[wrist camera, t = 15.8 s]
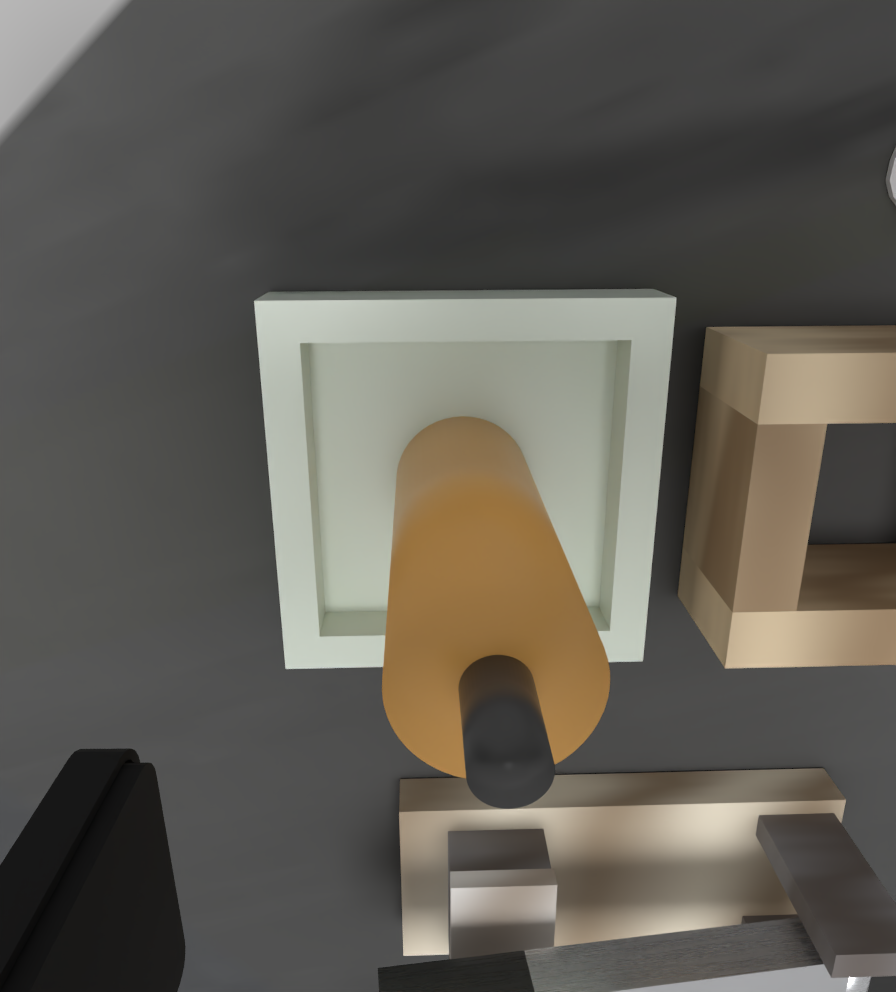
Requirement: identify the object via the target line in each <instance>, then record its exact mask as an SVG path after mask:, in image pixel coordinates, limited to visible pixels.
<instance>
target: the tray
mask: <svg viewBox="0 0 896 992" xmlns="http://www.w3.org/2000/svg"><path fill="white" fill-rule="evenodd" d="M676 299H677V298H676V297H674V296H671V295H669V294H666V293H663V292H661V291H658V290H655V289H565V290H430V291H294V292H268V293H266V294H264V295H263V296H261V297H260V298H258V299H256V300H255V301H254V305H255V317H256V329H257V341H258V352H259V364H260V376H261V387H262V399H263V411H264V422H265V434H266V446H267V457H268V469H269V481H270V492H271V504H272V516H273V528H274V539H275V551H276V563H277V574H278V586H279V598H280V609H281V621H282V633H283V644H284V656H285V668H286V669H309V668H355V667H383V663H384V649H385V634H386V620H387V606H388V592H389V577H390V563H391V549H392V535H393V520H394V506H395V492H396V477H397V469H398V464H399V461H400V458H401V456H402V454H403V452H404V450H405V448H406V447H407V445H408V444H409V442H410V441H411V440H412V439H413V438H414V436H416V435H417V434H418V433H419V432H420V431H421V430H423V429H424V428H426V427H427V426H429V425H431V424H433V423H435V422H437V421H440V420H443V419H446V418H451V417H460V416H466V417H475V418H480V419H484V420H487V421H489V422H491V423H494V424H496V425H497V426H499V427H500V428H502V429H503V430H505V431H506V432H507V433H508V434H509V435H510V436H511V437H512V438H513V439H514V440H515V442H516V443H517V445H518V446H519V448H520V449H521V452H522V454H523V456H524V458H525V460H526V463H527V465H528V468H529V470H530V472H531V475H532V477H533V479H534V482H535V484H536V487H537V489H538V491H539V494H540V496H541V498H542V501H543V503H544V506H545V508H546V510H547V513H548V515H549V517H550V520H551V522H552V525H553V527H554V529H555V532H556V534H557V536H558V539H559V541H560V544H561V546H562V548H563V551H564V553H565V555H566V558H567V560H568V563H569V565H570V567H571V570H572V572H573V574H574V577H575V579H576V582H577V584H578V586H579V589H580V591H581V593H582V596H583V598H584V601H585V603H586V605H587V608H588V610H589V612H590V615H591V617H592V620H593V622H594V624H595V627H596V629H597V631H598V634H599V636H600V639H601V641H602V643H603V646H604V648H605V652H606V655H607V658H608V662H634V661H643V654H644V644H645V633H646V622H647V611H648V601H649V590H650V579H651V568H652V557H653V547H654V536H655V525H656V514H657V504H658V493H659V482H660V471H661V460H662V450H663V439H664V428H665V417H666V406H667V396H668V385H669V374H670V363H671V353H672V342H673V331H674V320H675V309H676Z"/></svg>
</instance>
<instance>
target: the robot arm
mask: <svg viewBox="0 0 896 992" xmlns="http://www.w3.org/2000/svg"><path fill="white" fill-rule="evenodd" d="M184 961H185V939H184V933H183V927H182V922H181V916H180V910H179V904H178V898H177V893H176V887H175V881H174V875H173V869H172V863H171V858H170V852H169V846H168V840H167V834H166V828H165V823H164V817H163V811H162V805H161V799H160V793H159V788H158V782H157V776H156V771H155V768H154V766H153V765H152V763H140V760H139V757H138V754H137V753H136V751H135V750H133V749H79V750H77V751H75V752H74V753H73V754H72V755H71V757H70V758H69V759H68V761H67V762H66V764H65V765H64V767H63V768H62V770H61V772H60V773H59V775H58V776H57V778H56V779H55V781H54V782H53V784H52V786H51V787H50V789H49V790H48V792H47V793H46V795H45V796H44V798H43V800H42V801H41V803H40V804H39V806H38V807H37V809H36V811H35V812H34V814H33V815H32V817H31V818H30V820H29V821H28V823H27V825H26V826H25V828H24V829H23V831H22V832H21V834H20V835H19V837H18V839H17V840H16V842H15V843H14V845H13V846H12V848H11V849H10V851H9V853H8V854H7V856H6V857H5V859H4V860H3V862H2V863H1V865H0V992H177V991H178V988H179V984H180V981H181V977H182V973H183V968H184Z"/></svg>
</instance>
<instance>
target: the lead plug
mask: <svg viewBox="0 0 896 992" xmlns="http://www.w3.org/2000/svg"><path fill="white" fill-rule="evenodd" d="M609 688H610V669H609V663H608V658H607V655H606V652H605V648H604V646H603V643H602V641H601V639H600V636H599V634H598V631H597V629H596V627H595V624H594V622H593V620H592V617H591V615H590V612H589V610H588V608H587V605H586V603H585V601H584V598H583V596H582V593H581V591H580V589H579V586H578V584H577V582H576V579H575V577H574V574H573V572H572V570H571V567H570V565H569V563H568V560H567V558H566V555H565V553H564V551H563V548H562V546H561V544H560V541H559V539H558V536H557V534H556V532H555V529H554V527H553V525H552V522H551V520H550V517H549V515H548V513H547V510H546V508H545V506H544V503H543V501H542V498H541V496H540V494H539V491H538V489H537V487H536V484H535V482H534V479H533V477H532V475H531V472H530V470H529V468H528V465H527V463H526V460H525V458H524V456H523V454H522V452H521V449H520V448H519V446H518V445H517V443H516V442H515V440H514V439H513V438H512V437H511V436H510V435H509V434H508V433H507V432H506V431H505V430H503V429H502V428H500V427H499V426H497V425H496V424H494V423H491V422H489V421H487V420H484V419H480V418H475V417H466V416H460V417H451V418H446V419H443V420H440V421H437V422H435V423H433V424H431V425H429V426H427V427H426V428H424V429H423V430H421V431H420V432H419V433H418V434H417V435H416V436H414V438H413V439H412V440H411V441H410V442H409V444H408V445H407V447H406V448H405V450H404V452H403V454H402V456H401V458H400V461H399V464H398V469H397V477H396V492H395V506H394V520H393V535H392V549H391V563H390V577H389V592H388V606H387V620H386V634H385V649H384V663H383V677H382V695H383V704H384V707H385V711H386V715H387V717H388V720H389V722H390V724H391V726H392V728H393V730H394V731H395V733H396V735H397V736H398V738H399V739H400V740H401V741H402V743H403V744H404V745H405V746H406V747H407V748H408V749H409V750H410V751H411V752H412V753H413V754H414V755H416V756H417V757H418V758H419V759H421V760H422V761H424V762H425V763H427V764H428V765H430V766H432V767H434V768H436V769H438V770H440V771H442V772H445V773H448V774H450V775H453V776H457V777H461V778H465V779H466V780H467V784H468V786H469V789H470V790H471V792H472V793H473V794H474V795H475V797H477V798H478V799H479V800H480V801H482V802H483V803H485V804H487V805H490V806H492V807H496V808H502V809H514V808H520V807H524V806H527V805H529V804H532V803H533V802H535V801H537V800H538V799H540V798H541V797H542V796H543V795H544V794H545V793H546V792H547V791H548V790H549V788H550V786H551V785H552V782H553V780H554V776H555V764H557V763H558V762H560V761H562V760H563V759H565V758H566V757H567V756H569V755H570V754H572V753H573V752H574V751H575V750H576V749H577V748H578V747H579V746H580V745H582V744H583V743H584V741H585V740H586V739H587V738H588V737H589V735H590V734H591V733H592V732H593V730H594V728H595V727H596V725H597V724H598V722H599V720H600V718H601V716H602V714H603V712H604V709H605V706H606V703H607V699H608V695H609Z"/></svg>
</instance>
